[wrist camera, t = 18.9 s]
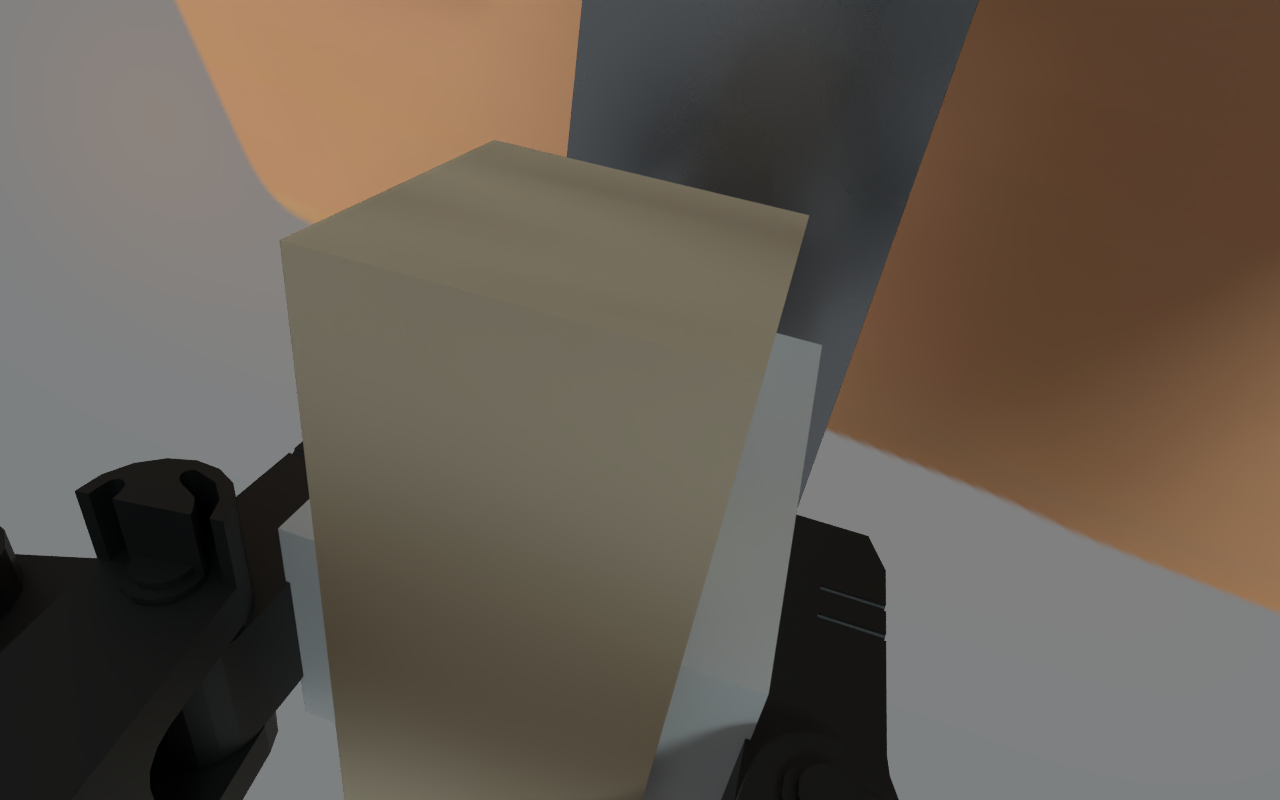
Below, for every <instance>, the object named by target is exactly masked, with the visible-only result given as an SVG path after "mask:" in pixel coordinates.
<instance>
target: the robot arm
mask: <svg viewBox="0 0 1280 800" xmlns="http://www.w3.org/2000/svg"><path fill="white" fill-rule="evenodd" d="M821 350H822V345H820V344H816V343H812V342H809V341H805V340H801V339H797V338H793V337H790V336H786V335H782V334H778V333H776V336H775V340H774V343H773V347H772V350H771V354H770V357H769V361H768V365H767V368H766V372H765V375H764V379H763V382H762V386H761V389H760V393H759V396H758V400H757V403H756V407H755V410H754V413H753V417H752V420H751V424H750V427H749V431H748V434H747V438H746V441H745V445H744V448H743V452H742V455H741V459H740V462H739V466H738V469H737V473H736V476H735V479H734V483H733V486H732V490H731V493H730V497H729V500H728V504H727V507H726V511H725V514H724V518H723V521H722V525H721V528H720V532H719V535H718V538H717V542H716V545H715V549H714V552H713V556H712V559H711V563H710V566H709V570H708V573H707V577H706V580H705V584H704V587H703V591H702V594H701V597H700V601H699V604H698V608H697V611H696V615H695V618H694V622H693V625H692V629H691V632H690V636H689V639H688V643H687V646H686V650H685V653H684V656H683V660H682V663H681V667H680V670H679V674H678V677H677V681H676V684H675V688H674V691H673V695H672V698H671V702H670V705H669V709H668V712H667V716H666V719H665V722H664V726H663V729H662V733H661V736H660V740H659V743H658V747H657V750H656V754H655V757H654V761H653V764H652V768H651V771H650V775H649V778H648V781H647V785H646V788H645V792H644V795H643V799H642V800H899V799H898V797H897V794H896V792H895V789H894V786H893V784H892V781H891V778H890V775H889V767H888V760H887V726H886V725H887V721H886V720H887V719H886V718H887V716H886V715H887V714H886V641H884V639H885V635H886V612H885V611H884V609H885V605H886V577H885V576H886V575H885V574H886V570H885V569H884V566H883V565H882V562H881V561H880V558H879V557H878V555H877V553H876V551H875V549H874V547H873V545H872V543H871V541H870V539H869V537H868V536H866V535H863V534H859V533H856V532H853V531H849V530H846V529H843V528H839V527H836V526H833V525H829V524H825V523H823V522H819V521H816V520H813V519H809V518H806V517H802V516H799V515H796V512H797V506H798V499H799V493H800V486H801V480H802V473H803V467H804V460H805V454H806V447H807V441H808V434H809V428H810V421H811V415H812V408H813V402H814V395H815V389H816V382H817V376H818V369H819V363H820V356H821ZM75 493H76V496H77V499H78V502H79V505H80V508H81V511H82V514H83V517H84V520H85V523H86V526H87V529H88V532H89V534H90V537H91V540H92V544H93V547H94V550H95V552H96V555H97V558H77V557H58V556H38V555H19V554H18V555H17V554H14V552H13V549H12V547H11V545H10V542H9V540H8V538H7V535H6V533H5V530H3V528H2V527H0V800H243V798H244V796H245V795H246V793H247V791H248V790H249V787H250V786H251V784H252V783H253V781H254V779H255V777H256V776H257V774H258V772H259V771H260V769H261V767H262V766H263V763H264V762H265V760H266V759H267V757H268V755H269V753H270V752H271V749H272V746H273V743H274V740H275V737H276V735H277V732H278V727H277V718H276V710H277V709H278V707H279V706H280V705H281V704H282V702H283V701H284V700H285V699H286V697H287V696H288V695H289V693H290V692H291V691H292V690H293V689H294V688H295V686H296V685H297V684H298V682H299V681H300V680H301V684H302V691H303V698H304V704H305V711H306V712H309V713H312V714H314V715H317V716H320V717H322V718H325V719H328V720H330V721H333V722H335V714H334V705H333V697H332V688H331V680H330V671H329V662H328V654H327V645H326V636H325V628H324V619H323V610H322V602H321V593H320V585H319V576H318V567H317V559H316V550H315V541H314V533H313V524H312V515H311V507H310V498H309V489H308V481H307V472H306V464H305V455H304V446H303V442H302V443H300V444H299V445H298V446H297V447H296V448H295V450H294V452H293V454H291V453H288V454H287V455H286V456H285V457H284V458H282V459H281V460H280V461H279V462H277V463H276V464H275V465H274V466H273V467H272V468H270V469H269V470H268V471H267V472H266V473H264V474H263V475H262V476H261V477H259V478H258V479H257V480H256V481H255V482H253V483H252V484H251V485H250V486H249V487H247V488H246V489H245V490H244V491H243V492H241V493H240V494H239V495H238V496H237V497H236V496H235V490H234V485H233V482H232V481H231V480H230V479H229V478H228V477H227V476H226V475H225V474H224V473H223V472H222V471H221V470H220V469H218V468H215V467H213V466H210V465H208V464H205V463H202V462H200V461H197V460H183V459H182V460H181V459H169V458H166V459H159V460H152V461H145V462H138V463H133V464H130V465H127V466H124V467H121V468H119V469H116V470H113V471H110V472H107V473H104V474H102V475H100V476H98V477H97V478H95V479H93V480H92V481H90V482H89V483H87V484H85V485H84V486H82V487H81V488H79V489H77V490H76V491H75Z"/></svg>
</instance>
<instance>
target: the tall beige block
mask: <svg viewBox="0 0 1280 800" xmlns="http://www.w3.org/2000/svg"><path fill="white" fill-rule="evenodd" d="M978 1H979V0H582V10H581V20H580V30H579V40H578V50H577V60H576V70H575V80H574V90H573V100H572V110H571V121H570V131H569V141H568V151H567V157H563V156H559V155H555V154H551V153H546V152H542V151H538V150H534V149H530V148H525V147H521V146H517V145H513V144H509V143H504V142H500V141H496V140H493V141H491V142H489V143H487V144H485V145H483V146H480V147H478V148H476V149H474V150H472V151H470V152H468V153H465V154H463V155H461V156H459V157H457V158H455V159H453V160H450V161H448V162H446V163H444V164H442V165H440V166H438V167H435V168H433V169H431V170H429V171H427V172H425V173H423V174H420V175H418V176H416V177H414V178H412V179H410V180H408V181H405V182H403V183H401V184H399V185H397V186H395V187H393V188H390V189H388V190H386V191H384V192H382V193H380V194H378V195H375V196H373V197H371V198H369V199H367V200H365V201H363V202H360V203H358V204H356V205H354V206H352V207H350V208H348V209H345V210H343V211H341V212H339V213H337V214H335V215H333V216H330V217H328V218H326V219H324V220H322V221H320V222H318V223H315V224H313V225H311V226H309V227H307V228H305V229H303V230H300V231H298V232H296V233H294V234H292V235H290V236H288V237H285V238H283V239H281V240H280V247H281V256H282V264H283V274H284V282H285V291H286V299H287V308H288V317H289V325H290V334H291V343H292V351H293V360H294V368H295V377H296V385H297V394H298V402H299V411H300V420H301V429H302V438H303V446H304V455H305V464H306V472H307V481H308V489H309V498H310V507H311V515H312V524H313V533H314V541H315V550H316V559H317V567H318V576H319V585H320V593H321V602H322V610H323V619H324V628H325V636H326V645H327V654H328V662H329V671H330V680H331V688H332V697H333V705H334V714H335V723H336V731H337V740H338V748H339V757H340V766H341V774H342V783H343V792H344V800H642V799H643V795H644V792H645V788H646V785H647V781H648V778H649V775H650V771H651V768H652V764H653V761H654V757H655V754H656V750H657V747H658V743H659V740H660V736H661V733H662V729H663V726H664V722H665V719H666V716H667V712H668V709H669V705H670V702H671V698H672V695H673V691H674V688H675V684H676V681H677V677H678V674H679V670H680V667H681V663H682V660H683V656H684V653H685V650H686V646H687V643H688V639H689V636H690V632H691V629H692V625H693V622H694V618H695V615H696V611H697V608H698V604H699V601H700V597H701V594H702V591H703V587H704V584H705V580H706V577H707V573H708V570H709V566H710V563H711V559H712V556H713V552H714V549H715V545H716V542H717V538H718V535H719V532H720V528H721V525H722V521H723V518H724V514H725V511H726V507H727V504H728V500H729V497H730V493H731V490H732V486H733V483H734V479H735V476H736V473H737V469H738V466H739V462H740V459H741V455H742V452H743V448H744V445H745V441H746V438H747V434H748V431H749V427H750V424H751V420H752V417H753V413H754V410H755V407H756V403H757V400H758V396H759V393H760V389H761V386H762V382H763V379H764V375H765V372H766V368H767V365H768V361H769V357H770V354H771V350H772V347H773V343H774V340H775V336H776V333H778V334H782V335H786V336H790V337H793V338H797V339H801V340H805V341H809V342H812V343H816V344H820V345H822V350H821V356H820V363H819V369H818V376H817V382H816V389H815V395H814V402H813V408H812V415H811V421H810V428H809V434H808V441H807V447H806V454H805V460H804V467H803V473H802V480H801V486H800V493H799V499H798V505H799V502H800V499H801V496H802V494H803V491H804V488H805V486H806V483H807V480H808V477H809V474H810V471H811V469H812V466H813V463H814V460H815V457H816V454H817V452H818V449H819V446H820V443H821V441H822V438H823V435H824V432H825V430H826V427H827V424H828V421H829V418H830V416H831V413H832V410H833V407H834V404H835V402H836V399H837V396H838V393H839V390H840V388H841V385H842V382H843V379H844V376H845V374H846V371H847V368H848V365H849V362H850V360H851V357H852V354H853V351H854V348H855V346H856V343H857V340H858V337H859V334H860V332H861V329H862V326H863V323H864V320H865V318H866V315H867V312H868V309H869V306H870V304H871V301H872V298H873V295H874V292H875V290H876V287H877V284H878V281H879V278H880V276H881V273H882V270H883V267H884V264H885V262H886V259H887V256H888V253H889V250H890V248H891V245H892V242H893V239H894V236H895V234H896V231H897V228H898V225H899V222H900V220H901V217H902V214H903V211H904V208H905V206H906V203H907V200H908V197H909V194H910V192H911V189H912V186H913V183H914V180H915V178H916V175H917V172H918V169H919V166H920V164H921V161H922V158H923V155H924V152H925V150H926V147H927V144H928V141H929V138H930V136H931V133H932V130H933V127H934V124H935V122H936V119H937V116H938V113H939V110H940V108H941V105H942V102H943V99H944V96H945V94H946V91H947V88H948V85H949V82H950V80H951V77H952V74H953V71H954V68H955V66H956V63H957V60H958V57H959V54H960V52H961V49H962V46H963V43H964V40H965V38H966V35H967V32H968V29H969V26H970V24H971V21H972V18H973V15H974V12H975V10H976V7H977V4H978ZM797 508H798V506H797Z"/></svg>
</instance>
